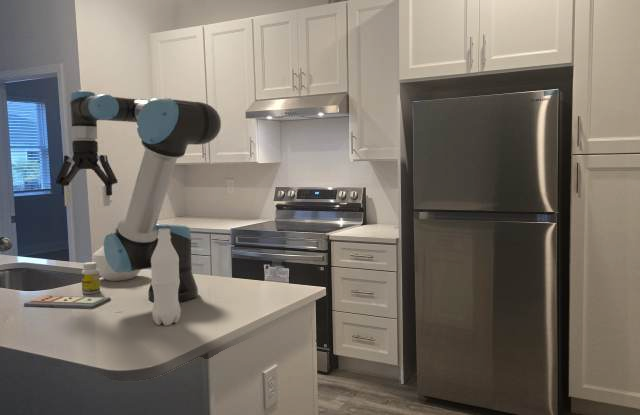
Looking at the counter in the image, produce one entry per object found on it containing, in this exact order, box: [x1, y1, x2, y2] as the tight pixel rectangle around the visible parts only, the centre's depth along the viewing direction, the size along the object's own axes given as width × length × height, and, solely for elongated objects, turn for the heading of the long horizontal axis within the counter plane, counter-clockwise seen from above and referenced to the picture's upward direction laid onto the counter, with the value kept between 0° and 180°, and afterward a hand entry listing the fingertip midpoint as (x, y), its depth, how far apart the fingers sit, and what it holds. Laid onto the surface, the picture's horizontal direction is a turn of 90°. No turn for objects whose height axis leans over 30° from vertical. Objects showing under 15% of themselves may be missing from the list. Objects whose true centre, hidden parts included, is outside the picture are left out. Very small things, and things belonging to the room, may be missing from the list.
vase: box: [91, 226, 141, 282], centre depth 198 cm, size 18×18×19 cm
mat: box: [23, 295, 112, 309], centre depth 163 cm, size 22×10×1 cm, turn 82°
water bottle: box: [150, 228, 182, 327], centre depth 141 cm, size 7×7×25 cm
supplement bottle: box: [81, 261, 101, 295], centre depth 177 cm, size 5×5×10 cm
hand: (87, 205), depth 175 cm, fingers open, 13 cm apart
